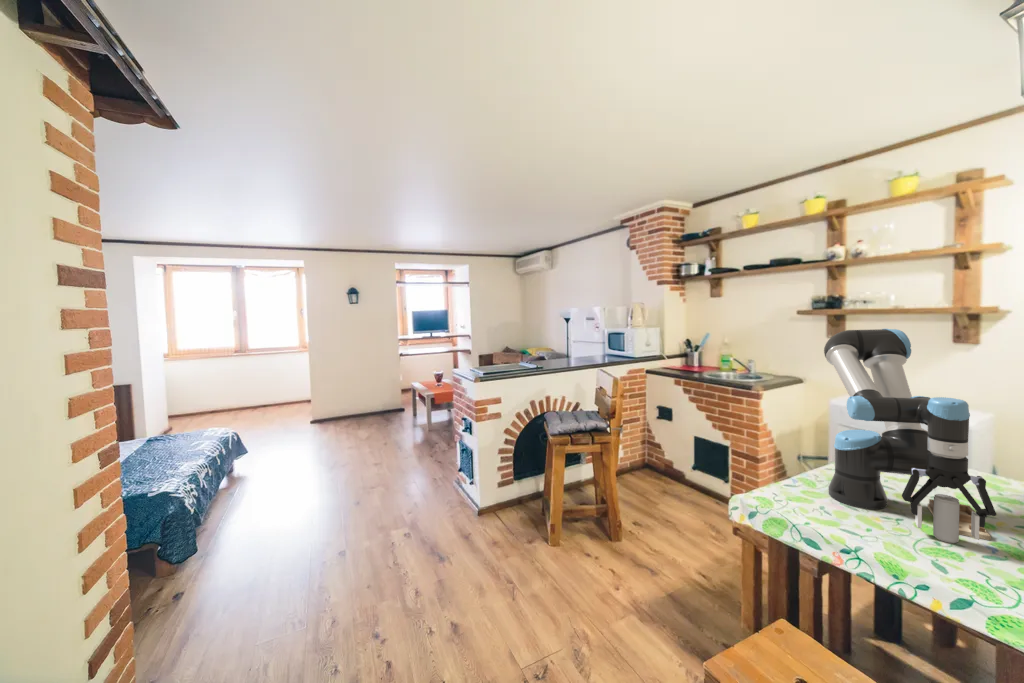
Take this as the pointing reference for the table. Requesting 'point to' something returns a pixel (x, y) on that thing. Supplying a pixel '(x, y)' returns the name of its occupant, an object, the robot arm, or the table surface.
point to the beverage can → (946, 518)
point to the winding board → (964, 521)
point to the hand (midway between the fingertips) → (945, 531)
